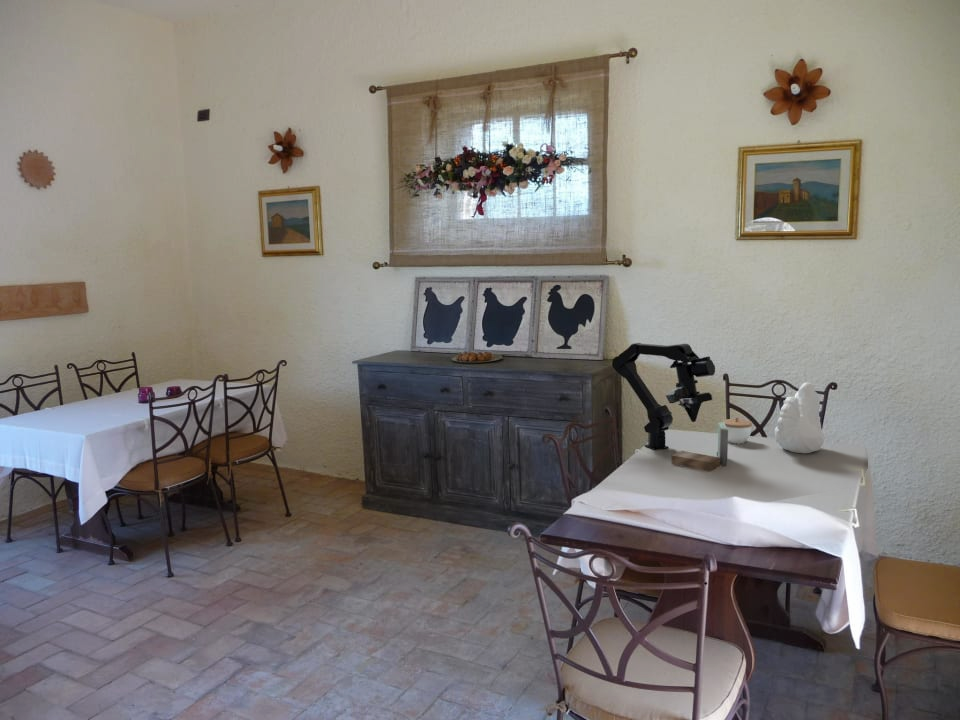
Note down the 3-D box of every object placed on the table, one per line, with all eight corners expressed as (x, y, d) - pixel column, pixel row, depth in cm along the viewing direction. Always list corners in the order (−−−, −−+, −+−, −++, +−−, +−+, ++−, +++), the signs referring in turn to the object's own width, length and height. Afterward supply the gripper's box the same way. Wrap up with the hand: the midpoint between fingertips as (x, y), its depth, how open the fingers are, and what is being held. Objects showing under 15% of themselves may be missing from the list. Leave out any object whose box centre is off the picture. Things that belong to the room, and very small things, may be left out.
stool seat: (671, 463, 245) (671, 455, 244) (682, 459, 250) (682, 450, 250) (709, 471, 235) (710, 462, 235) (720, 466, 240) (720, 457, 240)
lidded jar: (715, 439, 276) (716, 416, 274) (739, 437, 279) (739, 413, 278) (733, 446, 265) (733, 421, 264) (757, 443, 269) (758, 419, 267)
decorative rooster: (795, 442, 269) (798, 377, 266) (834, 451, 256) (837, 383, 253) (751, 452, 257) (753, 384, 254) (789, 462, 244) (792, 390, 240)
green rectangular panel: (727, 465, 240) (728, 430, 238) (720, 465, 240) (720, 430, 238) (723, 455, 252) (724, 422, 251) (716, 454, 253) (717, 421, 251)
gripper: (652, 383, 261) (660, 425, 261) (682, 381, 243) (690, 426, 243) (678, 378, 264) (685, 419, 264) (709, 376, 247) (717, 420, 247)
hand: (693, 421), depth 254 cm, fingers closed
